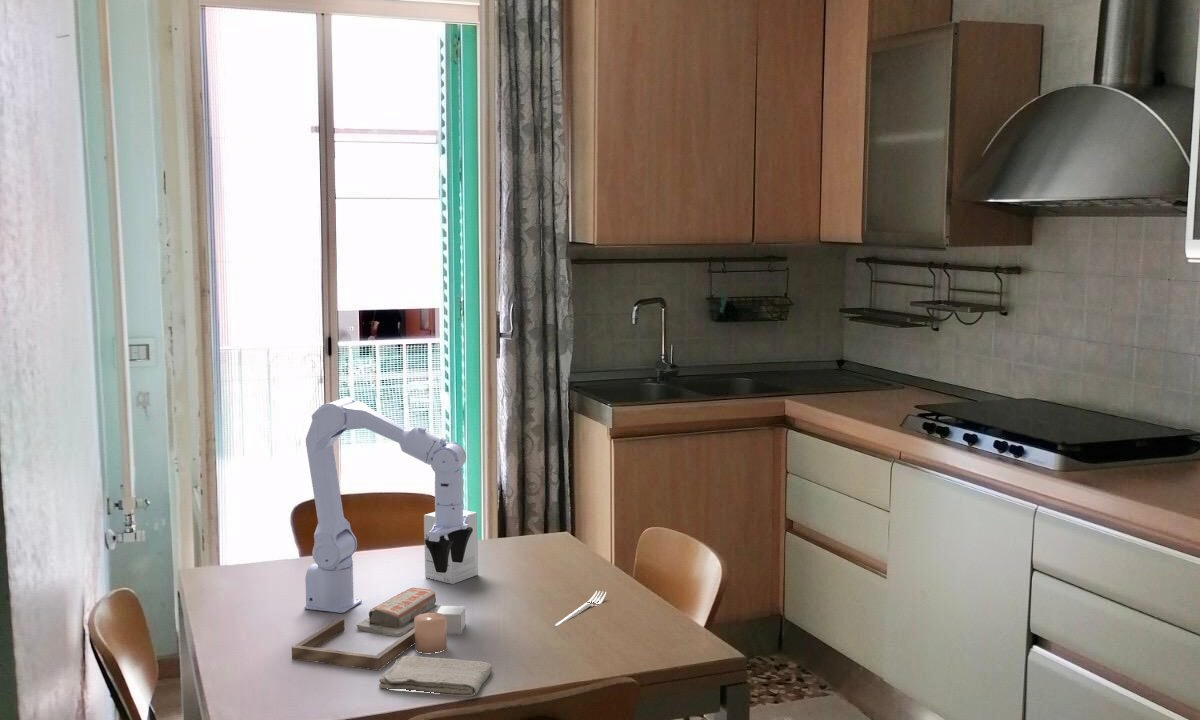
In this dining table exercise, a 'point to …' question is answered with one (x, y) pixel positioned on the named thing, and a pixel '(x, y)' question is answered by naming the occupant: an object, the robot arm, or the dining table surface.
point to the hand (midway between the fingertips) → (449, 567)
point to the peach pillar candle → (430, 632)
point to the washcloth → (436, 675)
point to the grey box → (454, 618)
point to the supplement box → (454, 569)
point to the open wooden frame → (311, 653)
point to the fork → (584, 606)
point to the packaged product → (400, 612)
